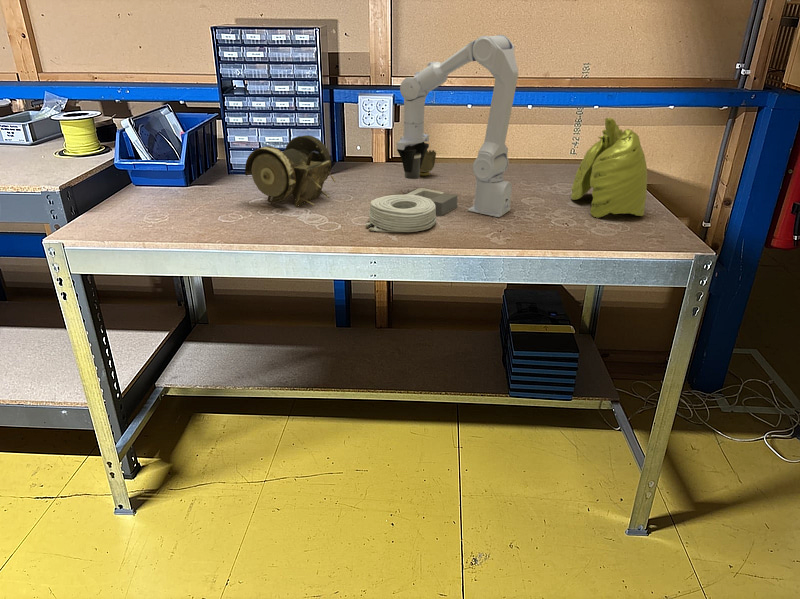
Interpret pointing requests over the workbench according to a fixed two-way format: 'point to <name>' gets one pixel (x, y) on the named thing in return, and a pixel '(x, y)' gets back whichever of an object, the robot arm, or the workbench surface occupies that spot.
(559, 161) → the workbench surface
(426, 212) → the cable
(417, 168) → the knob
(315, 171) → the bench grinder
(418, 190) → the hollow square frame
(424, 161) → the olive spiky cup
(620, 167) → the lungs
